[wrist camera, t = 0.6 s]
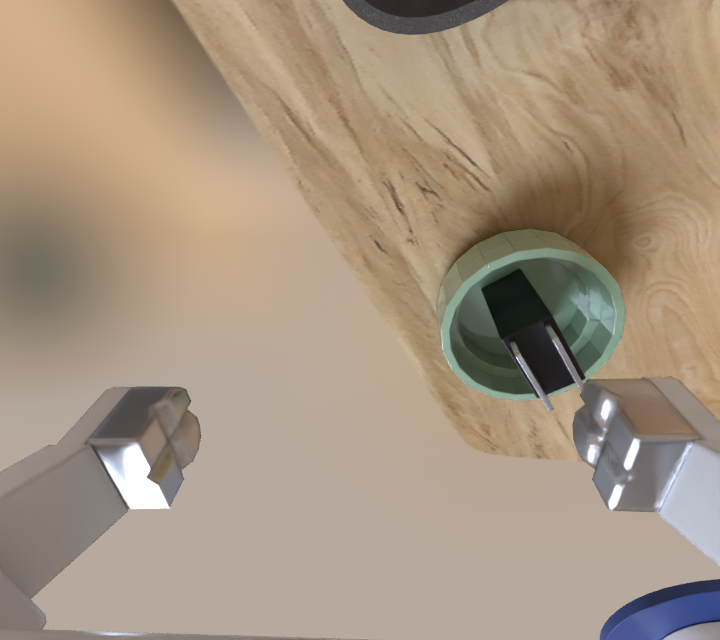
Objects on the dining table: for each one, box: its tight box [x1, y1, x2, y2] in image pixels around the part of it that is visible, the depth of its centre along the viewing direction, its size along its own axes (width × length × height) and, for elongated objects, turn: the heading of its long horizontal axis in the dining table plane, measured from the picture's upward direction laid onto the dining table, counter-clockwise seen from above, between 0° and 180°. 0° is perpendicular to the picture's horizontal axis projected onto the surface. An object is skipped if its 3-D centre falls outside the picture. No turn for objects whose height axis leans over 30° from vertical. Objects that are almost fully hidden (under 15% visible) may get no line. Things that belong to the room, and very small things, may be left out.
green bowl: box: [437, 229, 626, 401], centre depth 28 cm, size 11×11×4 cm
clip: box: [481, 269, 586, 411], centre depth 26 cm, size 5×3×9 cm, turn 35°
